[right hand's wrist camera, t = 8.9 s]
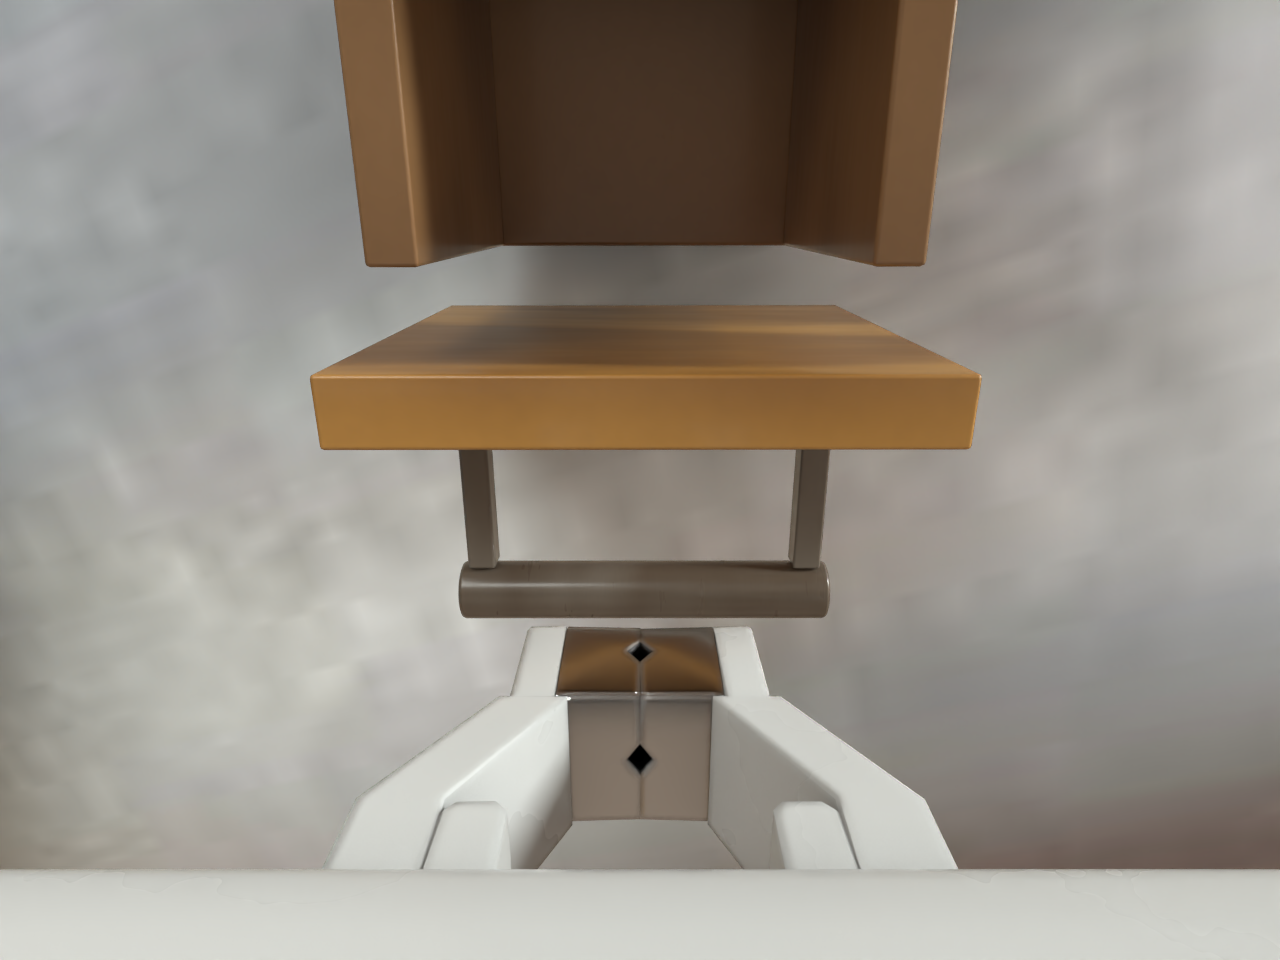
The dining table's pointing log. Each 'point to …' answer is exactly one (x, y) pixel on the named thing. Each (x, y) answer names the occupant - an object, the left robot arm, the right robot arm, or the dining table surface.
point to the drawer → (645, 216)
